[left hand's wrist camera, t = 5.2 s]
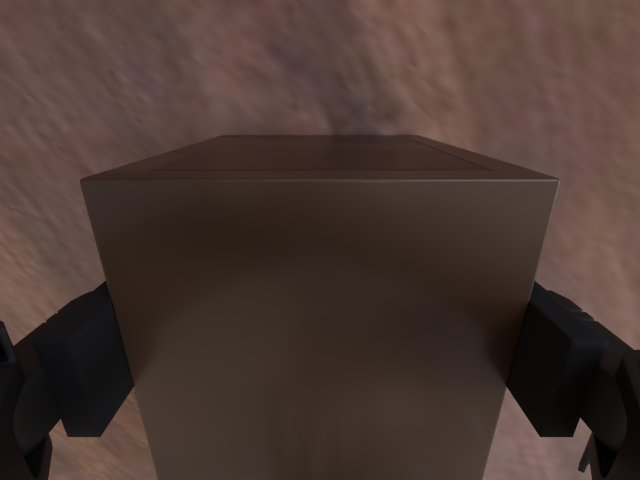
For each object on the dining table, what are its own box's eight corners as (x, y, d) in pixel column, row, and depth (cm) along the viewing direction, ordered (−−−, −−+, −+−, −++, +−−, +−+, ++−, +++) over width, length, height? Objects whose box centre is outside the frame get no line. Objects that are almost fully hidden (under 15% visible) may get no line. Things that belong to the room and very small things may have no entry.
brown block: (389, 427, 25) (437, 652, 15) (251, 427, 25) (202, 652, 15) (419, 135, 17) (562, 178, 7) (220, 135, 17) (77, 178, 7)
